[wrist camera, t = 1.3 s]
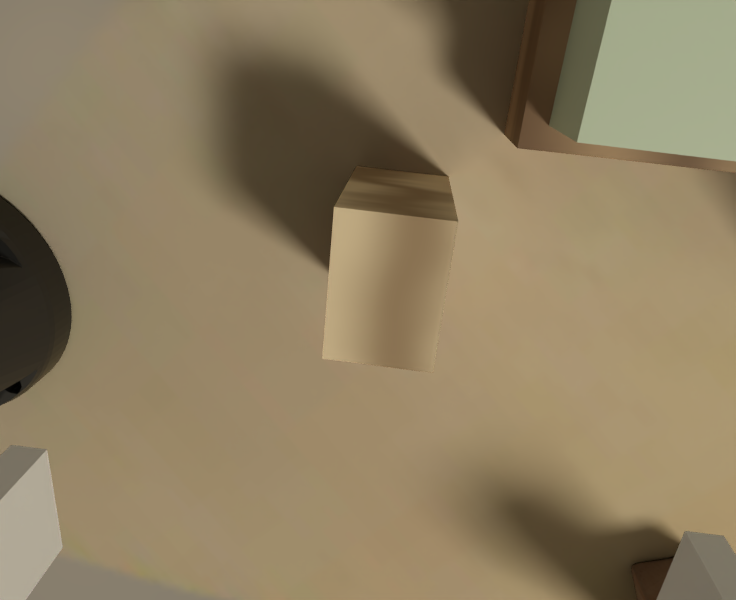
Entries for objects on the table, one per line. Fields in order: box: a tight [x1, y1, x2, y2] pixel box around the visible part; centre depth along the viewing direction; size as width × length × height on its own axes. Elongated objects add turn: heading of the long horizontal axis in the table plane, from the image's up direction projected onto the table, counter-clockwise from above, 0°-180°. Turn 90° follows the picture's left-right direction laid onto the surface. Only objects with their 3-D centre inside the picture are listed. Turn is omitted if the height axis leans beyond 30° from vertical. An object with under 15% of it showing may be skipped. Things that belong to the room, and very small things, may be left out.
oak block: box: [322, 166, 458, 373], centre depth 29 cm, size 5×7×9 cm
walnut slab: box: [504, 0, 736, 173], centre depth 26 cm, size 12×13×5 cm
